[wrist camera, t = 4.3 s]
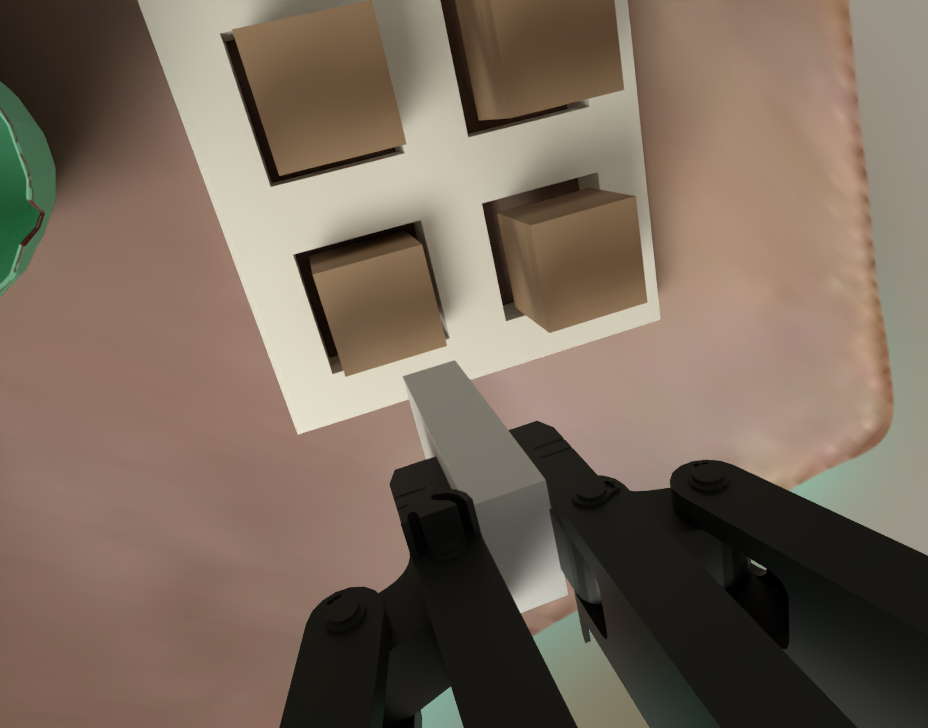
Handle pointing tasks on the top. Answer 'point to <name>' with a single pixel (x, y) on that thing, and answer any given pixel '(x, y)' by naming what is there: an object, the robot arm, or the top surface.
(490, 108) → the button
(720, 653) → the robot arm
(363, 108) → the button
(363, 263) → the button
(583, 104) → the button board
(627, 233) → the button
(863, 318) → the top surface
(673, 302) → the top surface
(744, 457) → the top surface
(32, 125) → the mug
